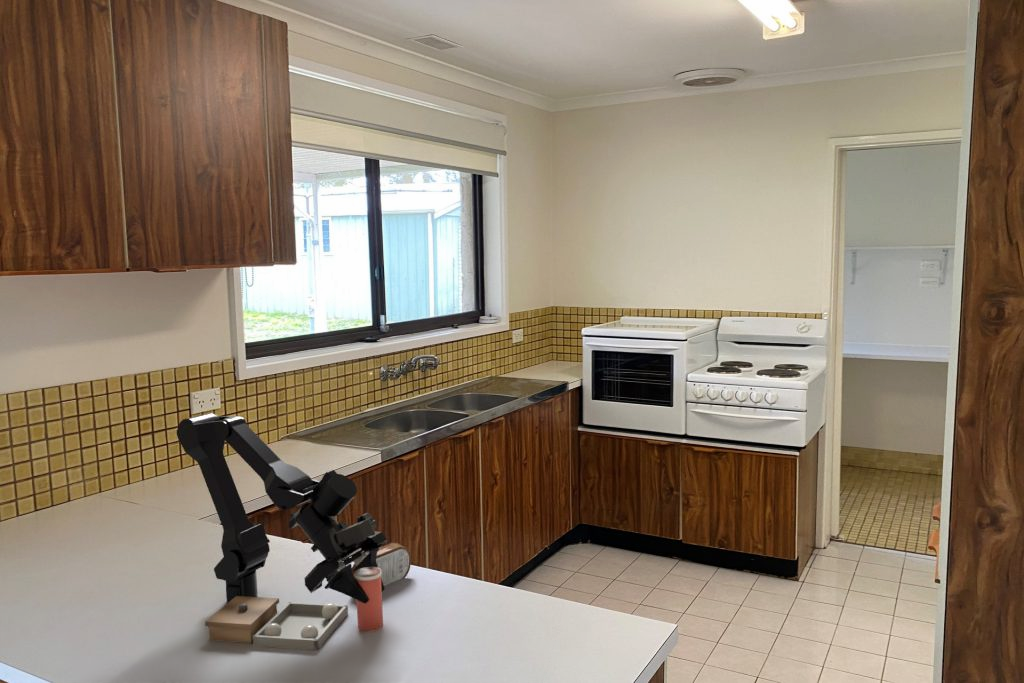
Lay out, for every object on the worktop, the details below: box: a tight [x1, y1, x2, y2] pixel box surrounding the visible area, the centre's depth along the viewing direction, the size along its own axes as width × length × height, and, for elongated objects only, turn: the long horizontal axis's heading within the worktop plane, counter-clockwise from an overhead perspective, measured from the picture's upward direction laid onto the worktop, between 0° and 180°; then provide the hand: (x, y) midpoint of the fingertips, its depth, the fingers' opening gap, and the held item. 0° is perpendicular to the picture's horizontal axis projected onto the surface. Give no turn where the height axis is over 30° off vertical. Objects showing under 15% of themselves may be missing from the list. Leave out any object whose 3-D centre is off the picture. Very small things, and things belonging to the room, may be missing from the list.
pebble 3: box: [322, 602, 338, 620], centre depth 149 cm, size 3×3×3 cm
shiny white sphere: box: [264, 623, 282, 636], centre depth 142 cm, size 3×3×3 cm
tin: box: [352, 542, 412, 587], centre depth 165 cm, size 15×3×8 cm, turn 141°
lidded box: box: [204, 596, 280, 644], centre depth 147 cm, size 11×9×5 cm
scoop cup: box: [354, 567, 384, 632], centre depth 146 cm, size 5×5×11 cm
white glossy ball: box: [301, 625, 318, 639], centre depth 141 cm, size 3×3×3 cm
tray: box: [252, 601, 349, 651], centre depth 146 cm, size 14×12×2 cm
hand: (375, 596), depth 145 cm, fingers closed on scoop cup, 5 cm apart
